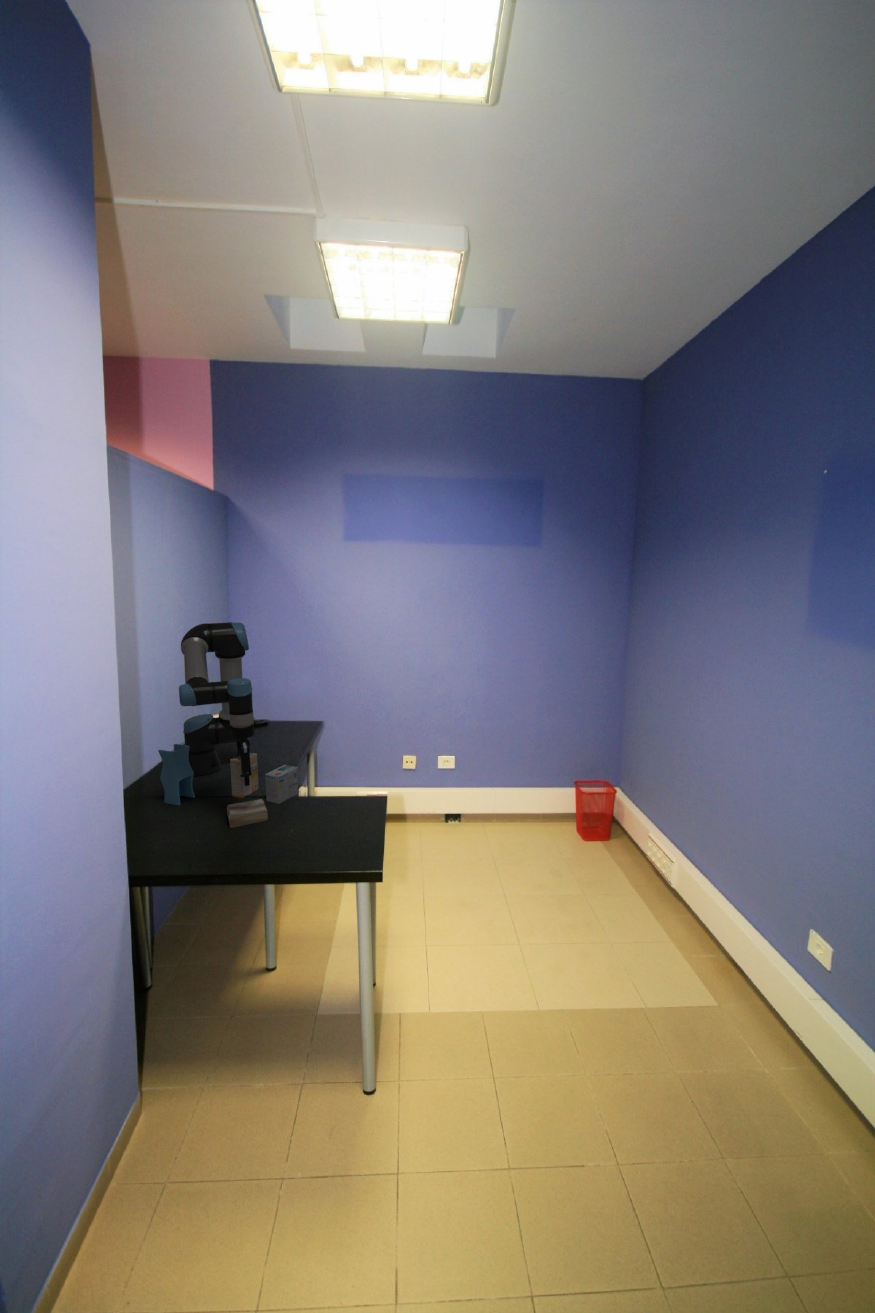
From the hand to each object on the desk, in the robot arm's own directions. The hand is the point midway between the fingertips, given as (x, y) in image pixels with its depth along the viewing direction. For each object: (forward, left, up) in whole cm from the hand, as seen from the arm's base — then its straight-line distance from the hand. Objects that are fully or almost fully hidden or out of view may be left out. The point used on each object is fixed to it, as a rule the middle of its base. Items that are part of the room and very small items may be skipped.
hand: (245, 789), depth 178 cm
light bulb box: (-12, +14, -11) cm, 21 cm away
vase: (-27, -21, -11) cm, 36 cm away
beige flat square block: (0, 0, -11) cm, 11 cm away
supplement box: (0, 0, -2) cm, 2 cm away
